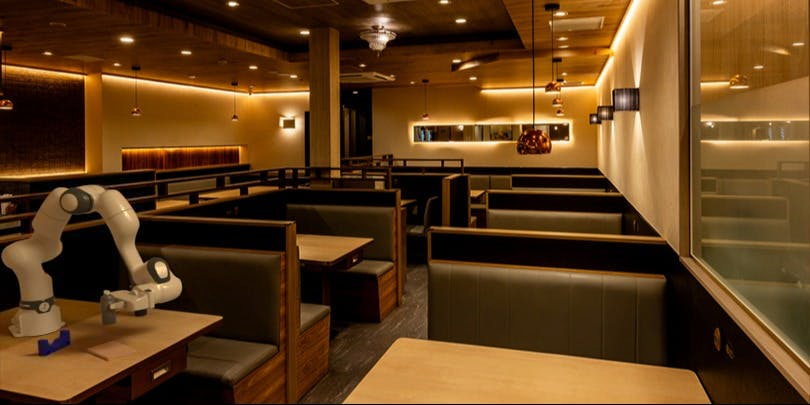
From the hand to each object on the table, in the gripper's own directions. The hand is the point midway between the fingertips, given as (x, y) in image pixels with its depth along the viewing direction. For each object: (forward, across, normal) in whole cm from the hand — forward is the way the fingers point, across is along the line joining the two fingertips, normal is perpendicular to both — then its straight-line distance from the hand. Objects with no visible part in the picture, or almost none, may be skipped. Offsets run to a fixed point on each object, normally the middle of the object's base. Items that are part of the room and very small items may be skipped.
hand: (105, 305), depth 207 cm
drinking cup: (-31, -33, +18) cm, 49 cm away
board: (-1, 0, +18) cm, 18 cm away
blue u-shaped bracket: (+11, -20, +18) cm, 29 cm away
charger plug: (-1, 0, +7) cm, 7 cm away
